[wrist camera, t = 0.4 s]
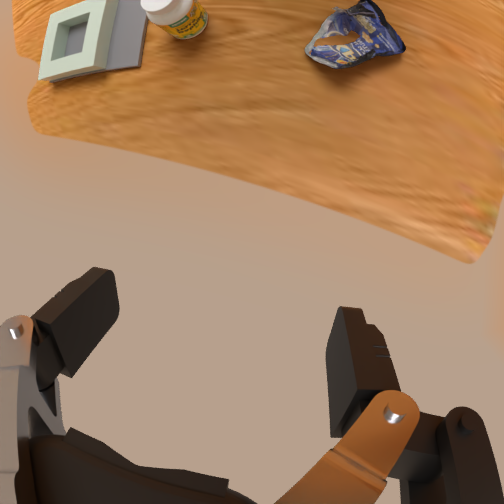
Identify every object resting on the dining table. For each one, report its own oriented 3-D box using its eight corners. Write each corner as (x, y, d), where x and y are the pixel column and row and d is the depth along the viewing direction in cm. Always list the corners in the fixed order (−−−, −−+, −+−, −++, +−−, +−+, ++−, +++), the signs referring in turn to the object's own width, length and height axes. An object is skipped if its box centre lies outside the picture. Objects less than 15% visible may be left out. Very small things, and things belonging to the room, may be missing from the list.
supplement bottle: (189, 0, 26) (160, -31, 17) (217, 18, 27) (194, -13, 18) (161, 28, 28) (125, 5, 19) (188, 47, 29) (155, 24, 20)
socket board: (64, 18, 27) (49, 13, 24) (153, -7, 26) (141, -17, 22) (52, 82, 32) (36, 81, 28) (140, 66, 31) (126, 61, 27)
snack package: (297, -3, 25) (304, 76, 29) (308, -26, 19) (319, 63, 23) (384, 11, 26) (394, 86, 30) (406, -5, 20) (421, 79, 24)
